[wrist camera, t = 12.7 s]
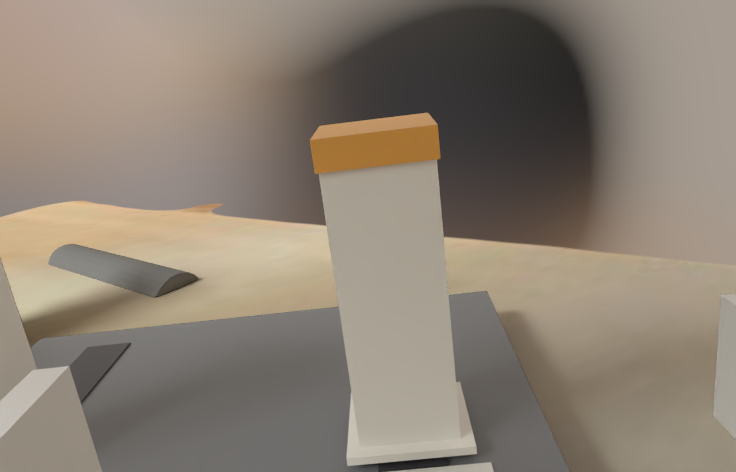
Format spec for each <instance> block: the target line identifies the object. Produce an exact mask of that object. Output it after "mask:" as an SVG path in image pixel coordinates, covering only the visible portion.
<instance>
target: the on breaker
mask: <svg viewBox="0 0 736 472" xmlns="http://www.w3.org/2000/svg"><path fill="white" fill-rule="evenodd" d="M32 370H37V367H36V364H35V361H34V358H33V355H32V352H31V349H30V346H29V343H28V340H27V337H26V334H25V331H24V328H23V325H22V322H21V319H20V316H19V313H18V310H17V307H16V304H15V301H14V298H13V295H12V292H11V289H10V286H9V283H8V280H7V277H6V274H5V271H4V268H3V265H2V262H1V259H0V401H1V400H2V399H3V398H4V397H5V396H6V395H7V394H8V393H9V392H10V391H11V390H12V389H13V388H14V387H15V386H16V385H18V384H19V383H20V382H21V381H22V380H23V379H24V378H25V377H26V376H27V375H28V374H29V373H30V372H31V371H32Z"/></svg>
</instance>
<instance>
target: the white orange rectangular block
mask: <svg viewBox="0 0 736 472" xmlns="http://www.w3.org/2000/svg"><path fill="white" fill-rule="evenodd" d="M310 144H311V151H312V157H313V164H314V170H315V174H317V173H319V178H320V185H321V192H322V198H323V205H324V212H325V218H326V225H327V232H328V238H329V245H330V252H331V258H332V265H333V272H334V278H335V285H336V292H337V298H338V305H339V312H340V318H341V325H342V332H343V338H344V345H345V352H346V359H347V365H348V372H349V379H350V385H351V392H352V393H351V400H350V415H349V429H348V443H347V457H346V460H347V466H354V465H365V464H375V463H386V462H397V461H408V460H418V459H429V458H440V457H451V456H461V455H472V454H477V447H476V443H475V439H474V435H473V431H472V427H471V423H470V419H469V415H468V411H467V407H466V403H465V399H464V395H463V391H462V388H461V384H460V382H456V376H455V364H454V353H453V341H452V330H451V318H450V307H449V295H448V284H447V272H446V261H445V249H444V238H443V226H442V215H441V203H440V193H439V180H438V169H437V159H440V149H439V137H438V125H437V123H436V122H435V121H434V120H433V118H432V117H431V116H430V115H429V113H422V114H414V115H406V116H397V117H389V118H381V119H374V120H365V121H357V122H349V123H340V124H333V125H324V126H320V127H319V128H318V129H317V131H316V132H315V133H314V135H313V137H312V138H311V139H310Z"/></svg>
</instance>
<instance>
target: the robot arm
mask: <svg viewBox="0 0 736 472" xmlns="http://www.w3.org/2000/svg"><path fill="white" fill-rule="evenodd" d="M713 416H714V417H715V418H716V419H717V420H718V421H719V422H720V423H721V424H722V425H723V426H724V427H725V429H726V430H727V431H728V432H729V433H730V434H731V435H732V436H733V437H734V438H735V439H736V293H735V294H726V295H721V303H720V318H719V333H718V348H717V363H716V379H715V394H714V409H713ZM0 472H102V469H101V466H100V463H99V460H98V457H97V453H96V450H95V447H94V444H93V441H92V438H91V434H90V431H89V428H88V425H87V422H86V418H85V415H84V412H83V409H82V406H81V402H80V399H79V396H78V393H77V390H76V387H75V383H74V380H73V377H72V374H71V371H70V367H69V366H65V367H56V368H46V369H37V370H32V371H31V372H30V373H29V374H28V375H27V376H26V377H25V378H24V379H23V380H22V381H21V382H20V383H19V384H18V385H16V386H15V387H14V388H13V389H12V390H11V391H10V392H9V393H8V394H7V395H6V396H5V397H4V398H3V399H2V400H1V401H0Z"/></svg>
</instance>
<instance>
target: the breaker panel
mask: <svg viewBox="0 0 736 472" xmlns="http://www.w3.org/2000/svg"><path fill="white" fill-rule="evenodd" d="M449 307H450V318H451V330H452V341H453V353H454V364H455V376H456V382H460V384H461V388H462V391H463V395H464V399H465V403H466V407H467V411H468V415H469V419H470V423H471V427H472V431H473V435H474V439H475V443H476V447H477V454H472V455H461V456H451V457H440V458H429V459H418V460H408V461H397V462H386V463H375V464H365V465H354V466H347V460H346V457H347V443H348V429H349V415H350V400H351V393H352V392H351V385H350V379H349V372H348V365H347V359H346V352H345V345H344V338H343V332H342V325H341V318H340V312H339V307H332V308H322V309H313V310H303V311H294V312H285V313H275V314H266V315H257V316H247V317H238V318H228V319H219V320H210V321H200V322H191V323H182V324H172V325H163V326H153V327H144V328H135V329H125V330H116V331H107V332H97V333H88V334H78V335H69V336H60V337H50V338H41V339H40V340H39V341H38V342H37V343H35V344H34V345H33V346H32V347H31V348H30V349H31V352H32V355H33V358H34V361H35V364H36V367H37V369H46V368H56V367H65V366H69V367H70V371H71V374H72V377H73V380H74V383H75V387H76V390H77V393H78V396H79V399H80V402H81V406H82V409H83V412H84V415H85V418H86V422H87V425H88V428H89V431H90V434H91V438H92V441H93V444H94V447H95V450H96V453H97V457H98V460H99V463H100V466H101V469H102V472H570V471H569V469H568V467H567V465H566V462H565V460H564V458H563V456H562V454H561V452H560V449H559V447H558V445H557V443H556V441H555V438H554V436H553V434H552V432H551V430H550V428H549V425H548V423H547V421H546V419H545V417H544V414H543V412H542V410H541V408H540V406H539V404H538V401H537V399H536V397H535V395H534V393H533V390H532V388H531V386H530V384H529V382H528V380H527V377H526V375H525V373H524V371H523V369H522V367H521V364H520V362H519V360H518V358H517V356H516V353H515V351H514V349H513V347H512V345H511V343H510V340H509V338H508V336H507V334H506V332H505V329H504V327H503V325H502V323H501V321H500V319H499V316H498V314H497V312H496V310H495V308H494V305H493V303H492V301H491V299H490V297H489V295H488V292H487V291H481V292H472V293H463V294H453V295H449Z"/></svg>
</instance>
